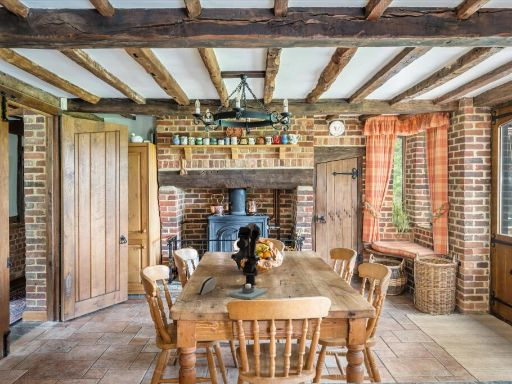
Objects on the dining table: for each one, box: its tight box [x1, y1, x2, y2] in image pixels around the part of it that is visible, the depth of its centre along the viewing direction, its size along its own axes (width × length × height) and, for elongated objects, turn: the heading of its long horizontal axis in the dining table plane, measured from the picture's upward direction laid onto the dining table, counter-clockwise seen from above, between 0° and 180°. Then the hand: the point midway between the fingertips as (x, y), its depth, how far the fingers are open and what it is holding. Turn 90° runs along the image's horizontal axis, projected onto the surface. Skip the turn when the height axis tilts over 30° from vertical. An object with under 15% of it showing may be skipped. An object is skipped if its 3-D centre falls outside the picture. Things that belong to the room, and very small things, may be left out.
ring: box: [241, 285, 255, 294], centre depth 248 cm, size 7×7×3 cm
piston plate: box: [228, 283, 268, 300], centre depth 248 cm, size 18×16×6 cm
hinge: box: [195, 276, 218, 296], centre depth 255 cm, size 17×5×10 cm, turn 161°
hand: (245, 270), depth 259 cm, fingers open, 9 cm apart
